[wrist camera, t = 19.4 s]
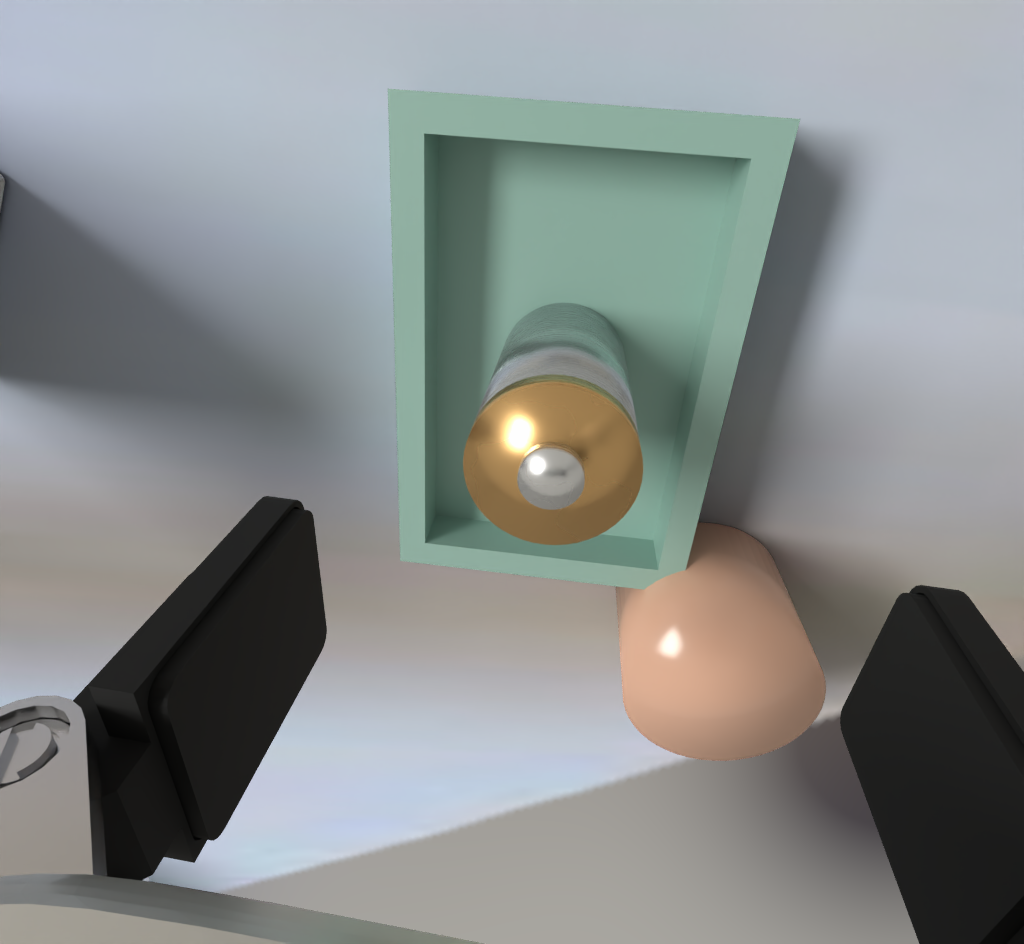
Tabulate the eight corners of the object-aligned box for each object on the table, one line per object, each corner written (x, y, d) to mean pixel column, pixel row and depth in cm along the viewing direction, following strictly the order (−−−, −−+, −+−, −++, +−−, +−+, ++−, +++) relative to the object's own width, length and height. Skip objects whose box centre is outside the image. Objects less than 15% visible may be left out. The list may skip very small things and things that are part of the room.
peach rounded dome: (799, 532, 26) (854, 635, 20) (755, 656, 29) (793, 771, 24) (629, 513, 26) (640, 610, 21) (605, 637, 29) (610, 747, 24)
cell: (634, 308, 21) (660, 405, 14) (615, 426, 23) (628, 566, 16) (505, 296, 21) (461, 384, 14) (498, 414, 23) (457, 545, 16)
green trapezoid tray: (770, 120, 19) (800, 119, 16) (670, 548, 27) (679, 593, 24) (414, 94, 20) (387, 88, 17) (417, 519, 27) (400, 560, 25)
